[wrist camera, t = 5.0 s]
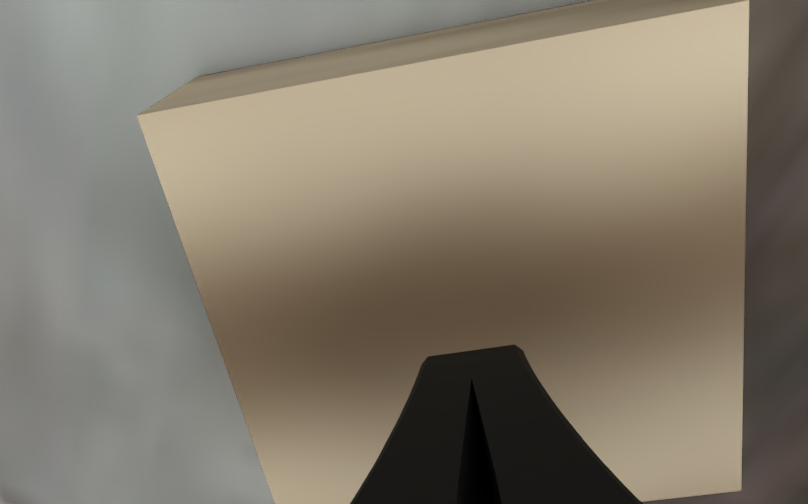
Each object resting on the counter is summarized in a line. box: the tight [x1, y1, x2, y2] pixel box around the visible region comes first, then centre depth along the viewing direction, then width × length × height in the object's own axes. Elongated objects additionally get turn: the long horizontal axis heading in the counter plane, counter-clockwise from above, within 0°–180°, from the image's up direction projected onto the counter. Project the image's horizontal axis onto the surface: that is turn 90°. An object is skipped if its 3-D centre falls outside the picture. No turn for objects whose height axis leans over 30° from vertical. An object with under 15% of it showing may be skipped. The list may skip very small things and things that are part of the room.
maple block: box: [137, 0, 749, 504], centre depth 13 cm, size 9×9×3 cm
